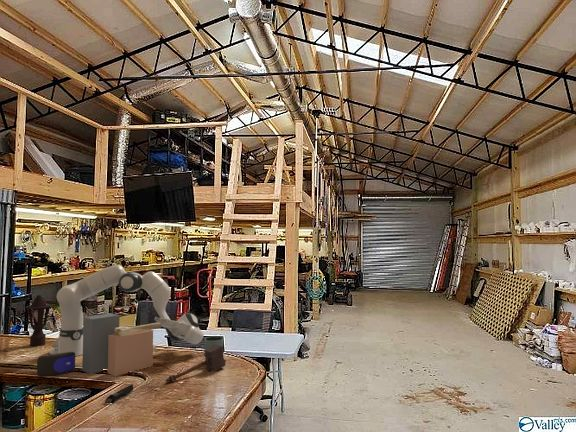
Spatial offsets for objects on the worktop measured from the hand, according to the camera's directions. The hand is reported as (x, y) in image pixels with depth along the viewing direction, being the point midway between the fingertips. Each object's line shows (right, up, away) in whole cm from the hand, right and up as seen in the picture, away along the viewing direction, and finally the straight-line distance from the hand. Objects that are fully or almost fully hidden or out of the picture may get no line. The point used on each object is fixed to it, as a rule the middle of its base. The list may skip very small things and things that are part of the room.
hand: (160, 319), depth 227 cm
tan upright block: (-11, -22, -14) cm, 28 cm away
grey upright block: (-26, -22, -13) cm, 36 cm away
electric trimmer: (-2, -20, -50) cm, 54 cm away
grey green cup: (+28, -23, +1) cm, 36 cm away
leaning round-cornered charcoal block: (-44, -22, -19) cm, 53 cm away
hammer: (+23, -22, -22) cm, 38 cm away
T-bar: (-7, -4, -9) cm, 12 cm away
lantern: (-85, -24, +36) cm, 96 cm away
